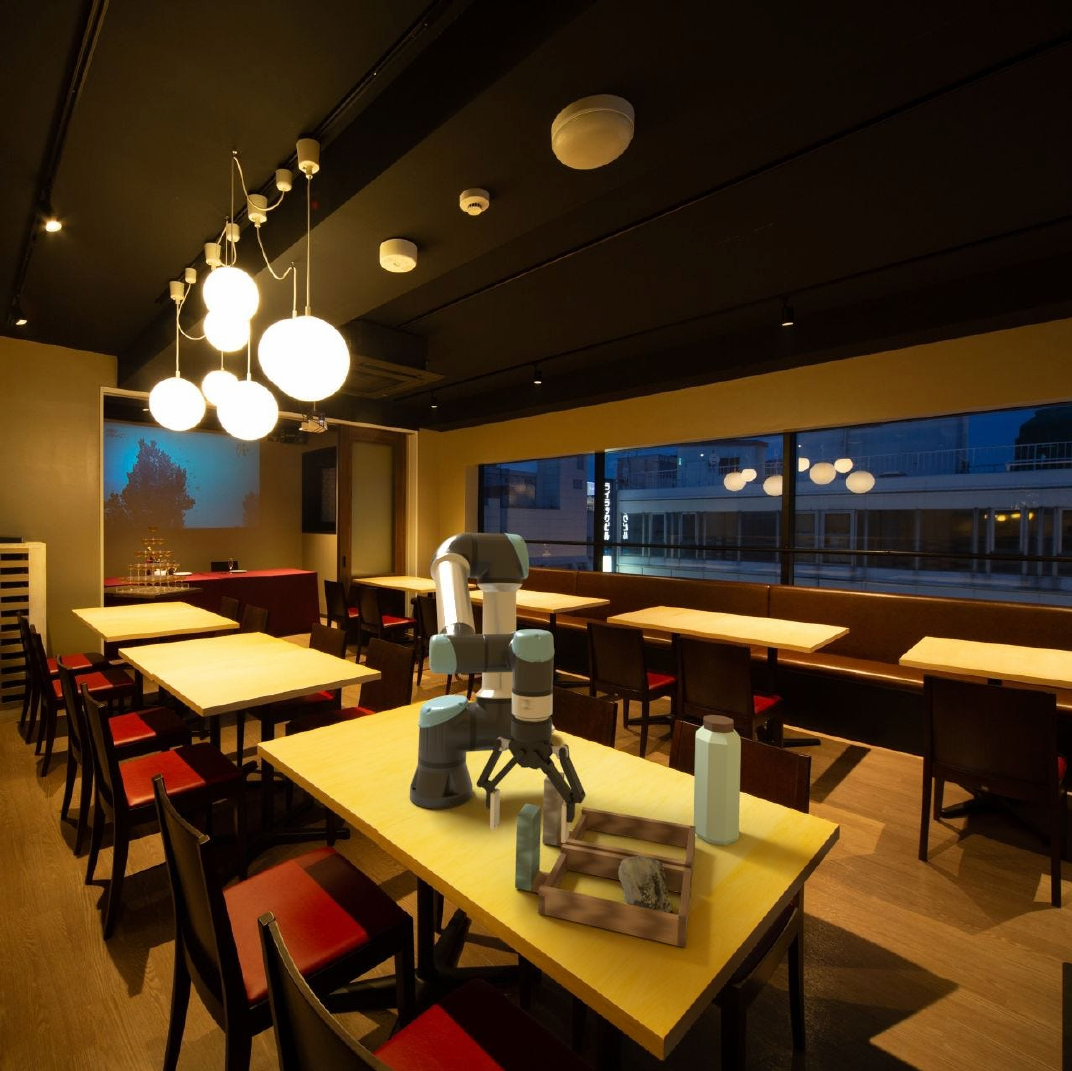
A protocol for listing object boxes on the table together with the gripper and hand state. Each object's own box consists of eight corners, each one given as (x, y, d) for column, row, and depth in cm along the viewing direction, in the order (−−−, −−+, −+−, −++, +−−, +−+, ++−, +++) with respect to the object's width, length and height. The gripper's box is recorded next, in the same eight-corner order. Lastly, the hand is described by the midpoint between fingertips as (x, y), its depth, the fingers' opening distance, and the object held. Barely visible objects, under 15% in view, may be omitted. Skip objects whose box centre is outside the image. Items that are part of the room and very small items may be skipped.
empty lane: (534, 855, 114) (536, 789, 115) (556, 820, 129) (557, 762, 129) (691, 887, 105) (692, 815, 105) (695, 845, 120) (696, 782, 120)
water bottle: (685, 824, 130) (687, 712, 130) (728, 823, 130) (730, 712, 131) (701, 847, 120) (704, 727, 120) (748, 847, 120) (751, 726, 121)
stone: (677, 853, 98) (618, 841, 101) (671, 919, 91) (608, 903, 94) (678, 876, 104) (622, 864, 107) (672, 940, 97) (613, 924, 100)
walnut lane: (504, 904, 99) (506, 828, 99) (532, 858, 113) (534, 792, 114) (685, 947, 89) (687, 863, 90) (690, 890, 104) (692, 818, 104)
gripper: (460, 713, 106) (458, 830, 106) (594, 729, 98) (591, 855, 98) (477, 703, 113) (474, 812, 113) (602, 717, 106) (600, 834, 105)
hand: (529, 832), depth 105 cm, fingers open, 13 cm apart
